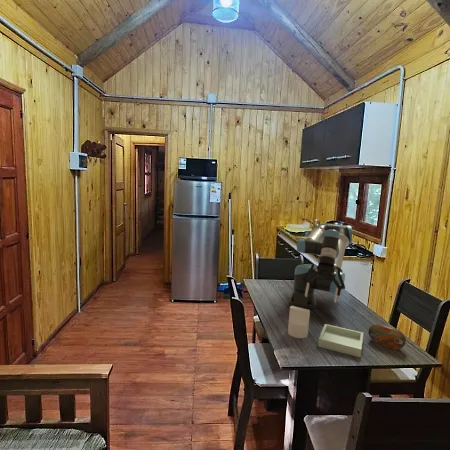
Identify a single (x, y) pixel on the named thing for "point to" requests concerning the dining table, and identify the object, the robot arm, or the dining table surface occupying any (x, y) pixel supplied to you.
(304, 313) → the base with upright slab
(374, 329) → the tin
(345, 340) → the bin
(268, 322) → the dining table surface
